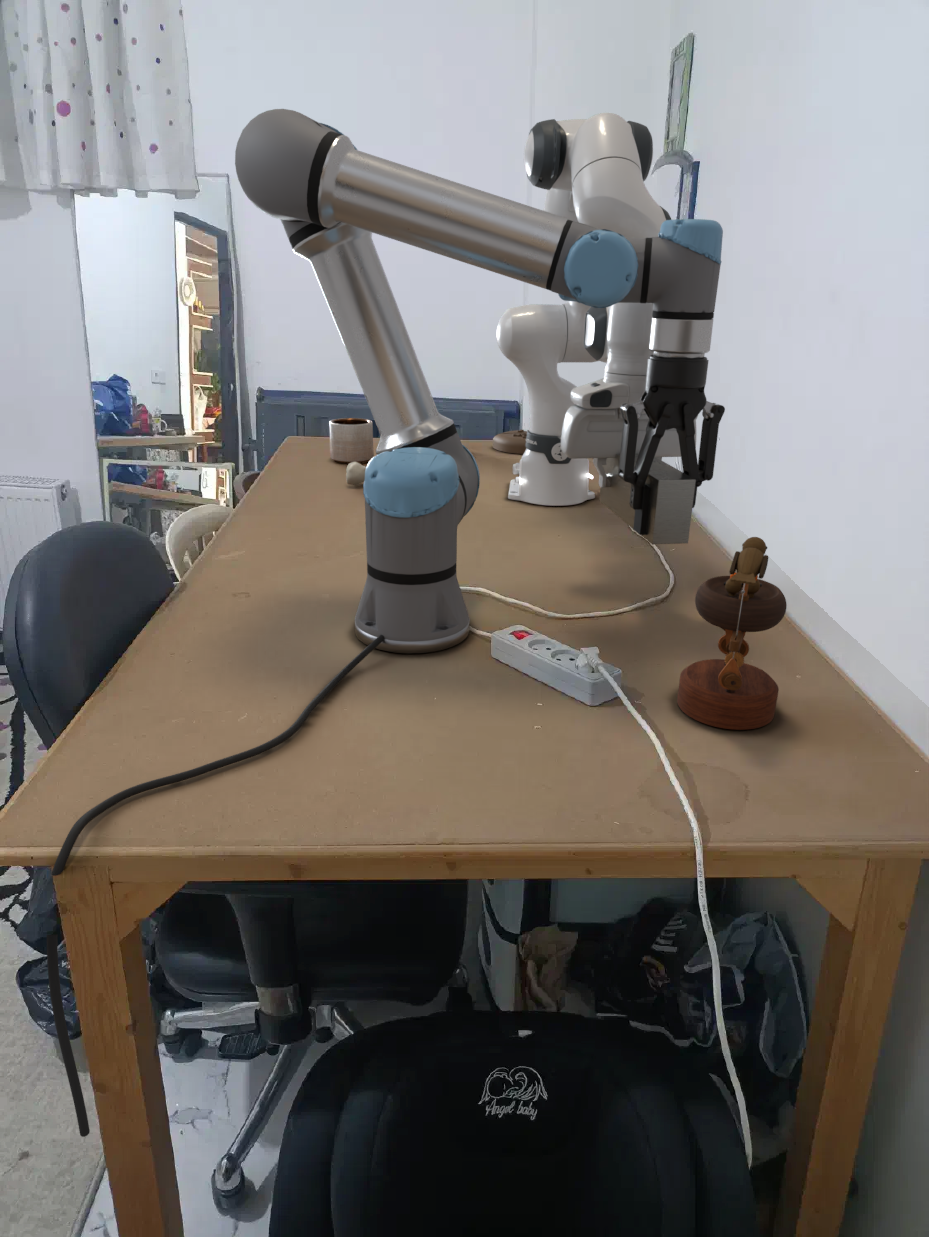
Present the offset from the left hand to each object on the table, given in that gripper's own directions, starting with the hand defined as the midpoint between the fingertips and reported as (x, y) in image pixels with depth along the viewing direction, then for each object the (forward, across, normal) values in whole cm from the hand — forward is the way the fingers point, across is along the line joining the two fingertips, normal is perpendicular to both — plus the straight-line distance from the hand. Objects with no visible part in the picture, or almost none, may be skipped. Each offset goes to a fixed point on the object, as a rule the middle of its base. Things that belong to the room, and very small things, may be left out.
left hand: (659, 531), depth 116 cm
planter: (+12, +38, -109) cm, 116 cm away
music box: (+12, +2, +27) cm, 30 cm away
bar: (+1, 0, -8) cm, 8 cm away
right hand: (-3, 0, -15) cm, 15 cm away
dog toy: (+12, +30, -82) cm, 88 cm away
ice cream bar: (+12, -10, -114) cm, 115 cm away
